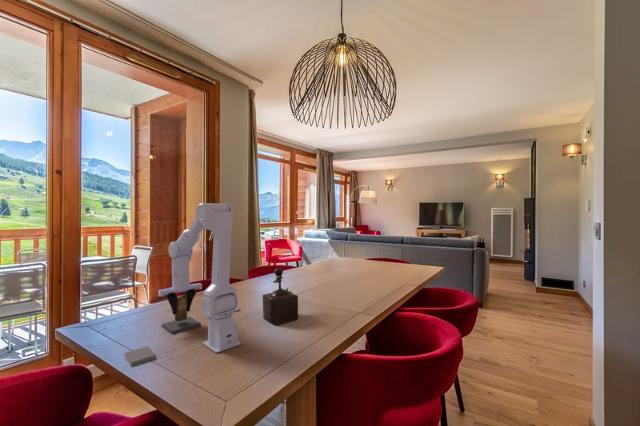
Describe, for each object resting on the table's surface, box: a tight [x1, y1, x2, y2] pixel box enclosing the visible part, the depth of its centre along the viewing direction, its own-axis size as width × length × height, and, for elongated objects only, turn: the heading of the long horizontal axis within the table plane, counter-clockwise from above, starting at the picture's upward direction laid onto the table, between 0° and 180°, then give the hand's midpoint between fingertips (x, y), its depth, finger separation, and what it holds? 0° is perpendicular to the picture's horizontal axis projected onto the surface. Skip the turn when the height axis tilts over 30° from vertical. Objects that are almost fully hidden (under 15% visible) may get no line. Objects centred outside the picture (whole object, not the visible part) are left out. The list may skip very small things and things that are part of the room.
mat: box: [161, 316, 202, 335], centre depth 107 cm, size 10×10×1 cm
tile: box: [124, 345, 157, 367], centre depth 84 cm, size 2×6×8 cm
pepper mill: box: [262, 267, 299, 327], centre depth 115 cm, size 16×11×18 cm
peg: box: [174, 294, 188, 321], centre depth 107 cm, size 4×4×8 cm
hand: (181, 312), depth 107 cm, fingers closed on peg, 4 cm apart
